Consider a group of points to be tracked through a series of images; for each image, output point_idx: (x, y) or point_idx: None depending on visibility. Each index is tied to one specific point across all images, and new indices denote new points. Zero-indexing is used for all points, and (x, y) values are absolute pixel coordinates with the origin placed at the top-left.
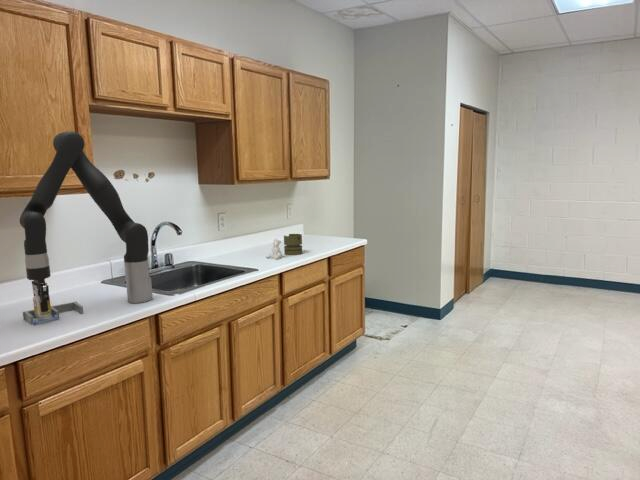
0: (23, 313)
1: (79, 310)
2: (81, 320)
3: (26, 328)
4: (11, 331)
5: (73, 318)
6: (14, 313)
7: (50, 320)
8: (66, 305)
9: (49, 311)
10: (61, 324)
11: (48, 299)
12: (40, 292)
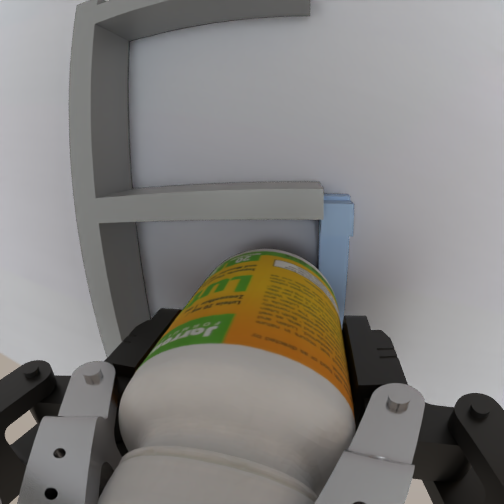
0: None
1: (279, 3)
2: (487, 83)
3: None
4: None
5: (395, 94)
6: (19, 340)
7: (346, 263)
8: (99, 79)
9: (325, 287)
10: (479, 221)
11: (492, 410)
12: None
